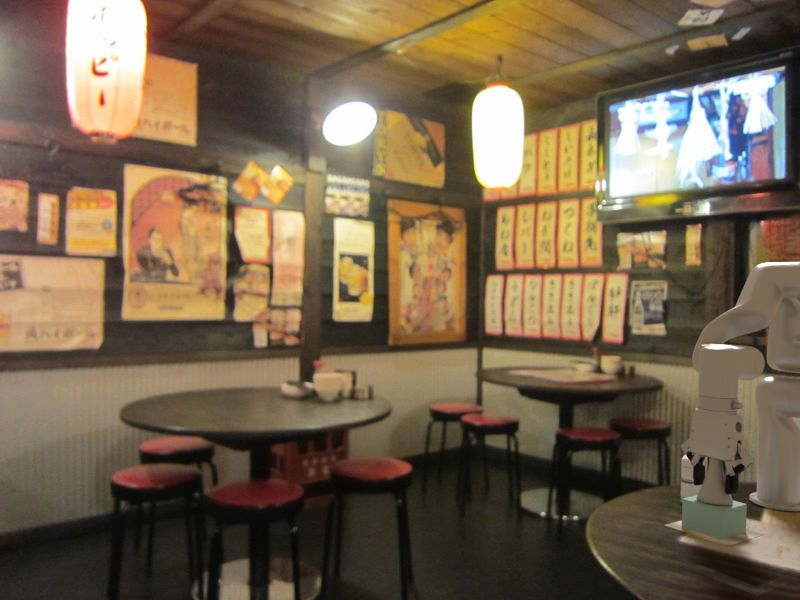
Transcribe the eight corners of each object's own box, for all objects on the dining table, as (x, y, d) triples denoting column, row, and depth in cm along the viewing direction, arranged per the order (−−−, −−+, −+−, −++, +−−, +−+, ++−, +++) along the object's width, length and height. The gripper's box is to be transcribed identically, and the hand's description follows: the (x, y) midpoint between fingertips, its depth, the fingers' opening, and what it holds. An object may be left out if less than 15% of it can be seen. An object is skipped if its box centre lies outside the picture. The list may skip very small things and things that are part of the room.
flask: (738, 508, 136) (739, 459, 136) (700, 504, 137) (701, 456, 137) (728, 497, 143) (729, 451, 143) (692, 494, 144) (693, 449, 144)
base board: (702, 520, 150) (702, 514, 150) (764, 540, 138) (764, 534, 138) (663, 530, 142) (664, 524, 142) (726, 552, 130) (726, 546, 130)
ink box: (701, 511, 156) (703, 461, 156) (679, 507, 159) (680, 458, 159) (706, 502, 163) (708, 455, 163) (685, 498, 166) (686, 452, 166)
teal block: (706, 519, 146) (706, 492, 146) (745, 532, 139) (746, 504, 139) (681, 526, 141) (682, 498, 141) (721, 540, 134) (722, 510, 134)
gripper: (768, 409, 135) (765, 497, 135) (690, 397, 149) (688, 476, 149) (747, 412, 131) (745, 502, 131) (670, 399, 145) (667, 481, 145)
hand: (714, 488), depth 140 cm, fingers open, 6 cm apart
